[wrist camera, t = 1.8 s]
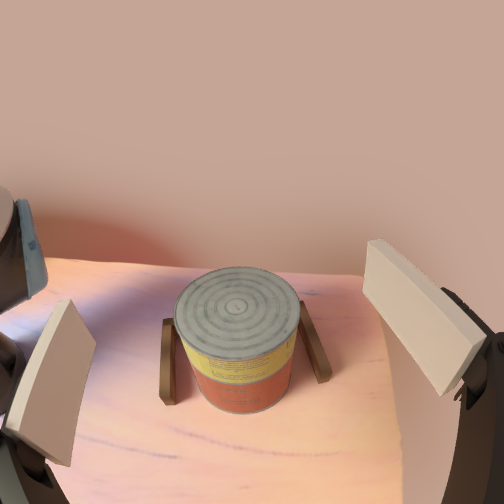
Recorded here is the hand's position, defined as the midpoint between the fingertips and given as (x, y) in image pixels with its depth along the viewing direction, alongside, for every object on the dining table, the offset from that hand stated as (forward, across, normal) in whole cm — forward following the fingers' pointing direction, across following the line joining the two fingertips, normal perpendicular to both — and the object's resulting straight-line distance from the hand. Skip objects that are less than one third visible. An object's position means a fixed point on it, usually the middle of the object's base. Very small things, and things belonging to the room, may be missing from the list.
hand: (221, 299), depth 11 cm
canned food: (+11, 0, -21) cm, 24 cm away
